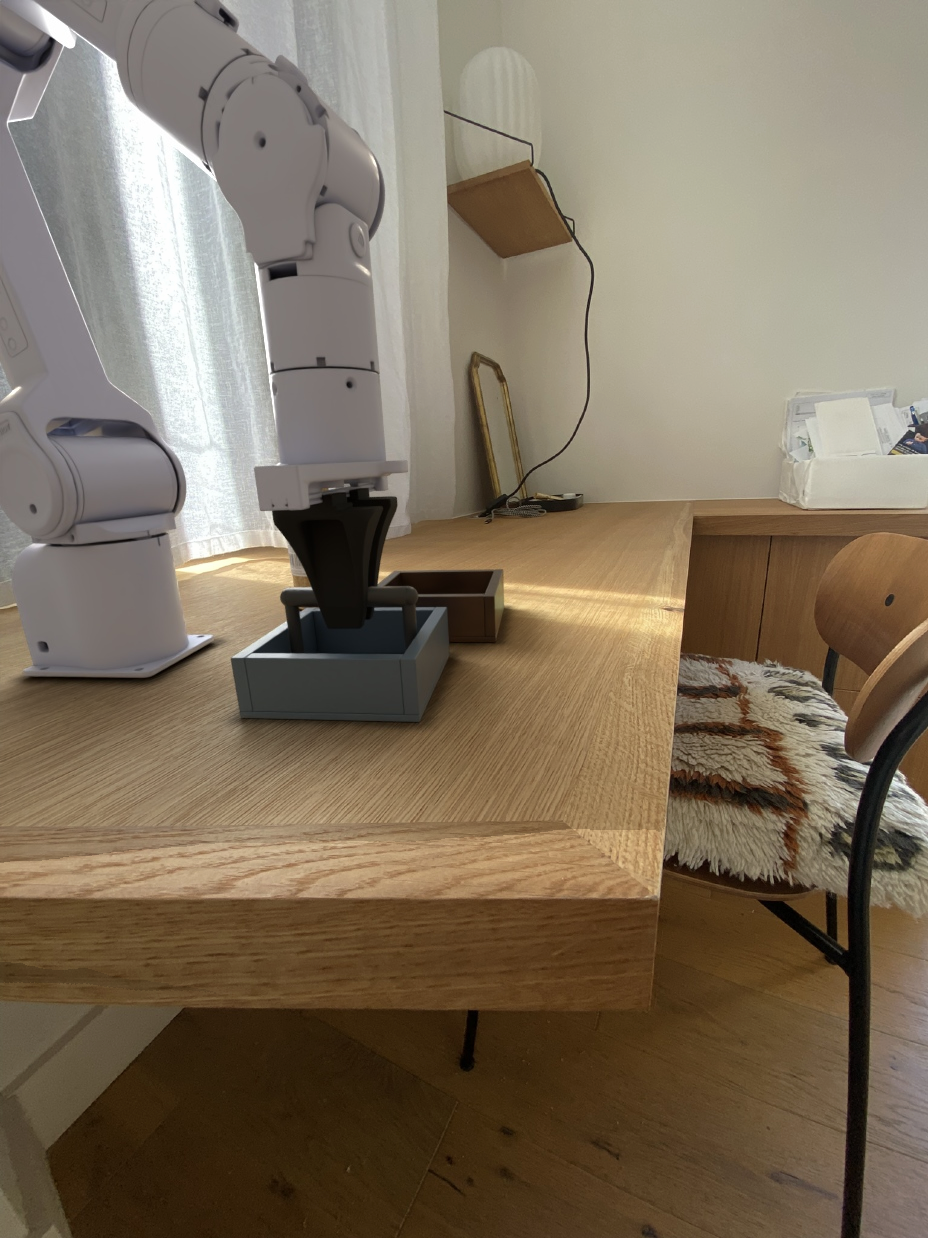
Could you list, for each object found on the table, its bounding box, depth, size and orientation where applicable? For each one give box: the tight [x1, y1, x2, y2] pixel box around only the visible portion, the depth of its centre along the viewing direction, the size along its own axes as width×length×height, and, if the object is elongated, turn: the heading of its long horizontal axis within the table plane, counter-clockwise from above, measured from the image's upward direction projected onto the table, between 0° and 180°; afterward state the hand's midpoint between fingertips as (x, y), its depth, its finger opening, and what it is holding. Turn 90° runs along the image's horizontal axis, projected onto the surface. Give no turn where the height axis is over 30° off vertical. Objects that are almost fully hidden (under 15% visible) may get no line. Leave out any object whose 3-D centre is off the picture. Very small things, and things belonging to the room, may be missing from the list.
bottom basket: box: [375, 568, 505, 643], centre depth 46 cm, size 10×10×4 cm
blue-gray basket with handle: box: [230, 586, 451, 723], centre depth 33 cm, size 10×10×6 cm
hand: (350, 622), depth 33 cm, fingers closed on blue-gray basket with handle
